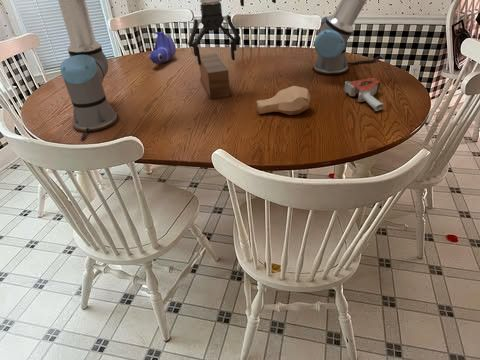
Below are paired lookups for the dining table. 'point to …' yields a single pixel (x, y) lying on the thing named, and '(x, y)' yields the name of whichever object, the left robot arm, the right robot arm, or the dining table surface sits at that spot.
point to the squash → (286, 101)
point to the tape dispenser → (365, 91)
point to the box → (214, 76)
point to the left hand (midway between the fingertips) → (216, 61)
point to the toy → (162, 49)
